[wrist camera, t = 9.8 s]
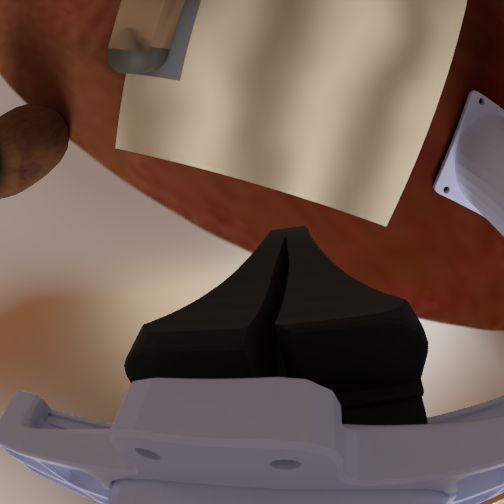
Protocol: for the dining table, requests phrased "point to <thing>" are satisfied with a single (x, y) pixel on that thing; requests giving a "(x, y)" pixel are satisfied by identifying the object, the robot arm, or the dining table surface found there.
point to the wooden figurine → (29, 146)
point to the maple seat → (298, 95)
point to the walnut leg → (143, 35)
